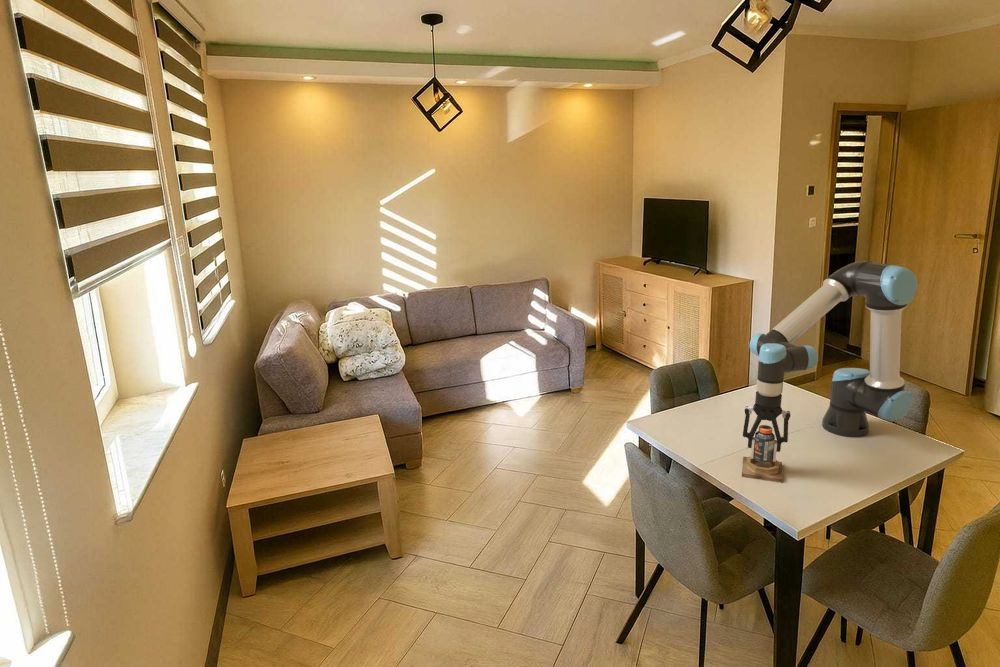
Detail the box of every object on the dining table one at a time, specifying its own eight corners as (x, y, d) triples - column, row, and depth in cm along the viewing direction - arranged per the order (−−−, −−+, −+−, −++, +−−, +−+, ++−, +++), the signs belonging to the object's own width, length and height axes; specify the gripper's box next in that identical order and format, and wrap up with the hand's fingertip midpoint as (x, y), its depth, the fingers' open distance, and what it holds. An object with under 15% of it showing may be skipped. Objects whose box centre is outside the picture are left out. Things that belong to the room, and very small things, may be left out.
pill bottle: (749, 455, 201) (752, 423, 198) (767, 453, 201) (769, 422, 198) (758, 463, 195) (761, 431, 192) (776, 462, 195) (779, 430, 192)
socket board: (781, 465, 202) (782, 456, 201) (782, 482, 192) (783, 473, 191) (743, 459, 207) (743, 451, 206) (741, 476, 196) (742, 467, 195)
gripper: (801, 391, 191) (794, 457, 198) (737, 384, 198) (732, 448, 205) (802, 400, 184) (795, 468, 191) (736, 393, 192) (731, 459, 198)
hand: (762, 458), depth 198 cm, fingers closed on pill bottle, 6 cm apart
